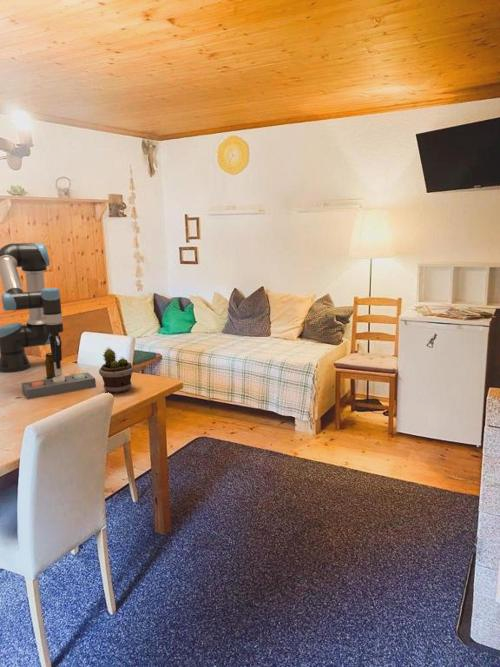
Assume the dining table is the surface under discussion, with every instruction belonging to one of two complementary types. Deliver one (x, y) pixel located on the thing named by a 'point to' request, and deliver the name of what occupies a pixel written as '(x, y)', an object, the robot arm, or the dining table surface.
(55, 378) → the button white
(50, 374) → the condiment
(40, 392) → the console
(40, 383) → the button rust
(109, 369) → the flowerpot
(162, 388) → the dining table surface
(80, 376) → the button sage
